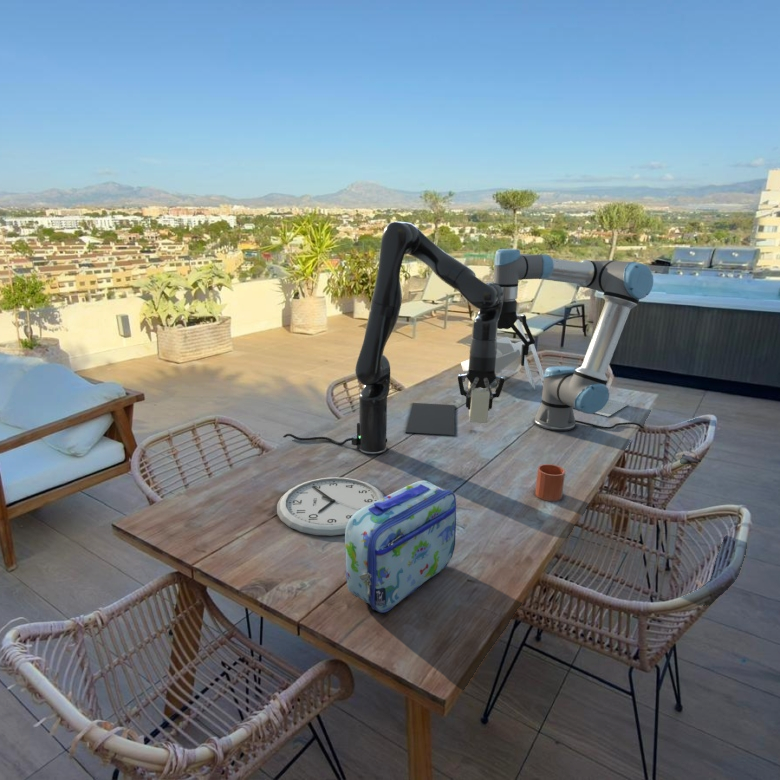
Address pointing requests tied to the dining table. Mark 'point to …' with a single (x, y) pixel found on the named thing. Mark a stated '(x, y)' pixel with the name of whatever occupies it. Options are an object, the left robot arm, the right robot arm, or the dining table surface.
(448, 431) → the dark rubber mat
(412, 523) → the lunch box
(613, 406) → the invitation card
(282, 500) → the wall clock
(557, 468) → the terracotta pot
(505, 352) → the white plastic object
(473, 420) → the cream beam
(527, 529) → the dining table surface
